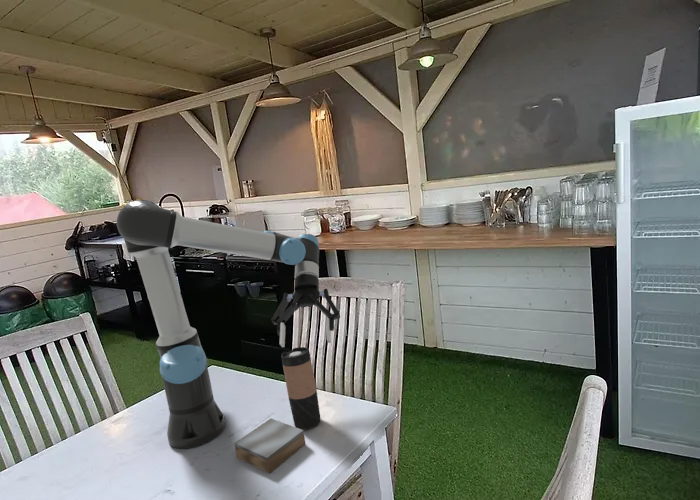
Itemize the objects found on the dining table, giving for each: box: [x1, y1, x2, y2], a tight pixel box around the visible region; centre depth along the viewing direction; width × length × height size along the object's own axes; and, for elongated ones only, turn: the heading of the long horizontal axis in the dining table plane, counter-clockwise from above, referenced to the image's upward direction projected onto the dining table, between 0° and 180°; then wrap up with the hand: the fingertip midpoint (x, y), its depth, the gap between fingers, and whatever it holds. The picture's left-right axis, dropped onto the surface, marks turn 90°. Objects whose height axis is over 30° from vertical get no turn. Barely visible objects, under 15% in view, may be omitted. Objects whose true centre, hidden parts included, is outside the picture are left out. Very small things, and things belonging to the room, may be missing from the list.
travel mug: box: [281, 346, 322, 431], centre depth 119 cm, size 8×8×20 cm
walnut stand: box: [233, 418, 306, 474], centre depth 110 cm, size 12×12×4 cm
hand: (305, 343), depth 127 cm, fingers open, 13 cm apart
